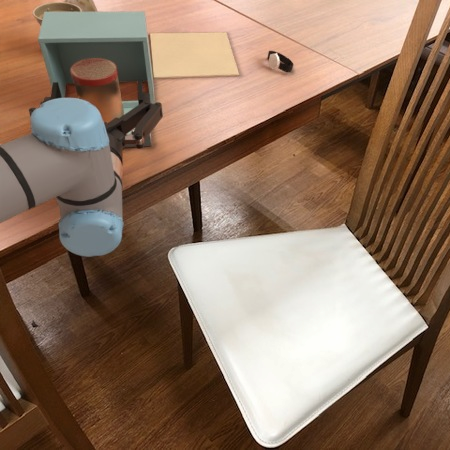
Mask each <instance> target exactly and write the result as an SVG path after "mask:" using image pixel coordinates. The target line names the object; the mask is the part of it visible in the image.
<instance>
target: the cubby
mask: <svg viewBox="0 0 450 450" xmlns="http://www.w3.org/2000/svg"><path fill="white" fill-rule="evenodd" d="M37 40H38V43H39V47H40V51H41V55H42V58H43V61H44V65H45V68H46V73H47V76H48V80H49V83H50V86H51V88H52V86H53V82H58V84H59V88H60V92H61V96H62V97H61V98H66V91H67V85H74V82H73V79H72V76H71V72H70V69H71V66H72V65H73V64H75V63H76V62H78V61H80V60H84V59H88V58H103V59H107V60H110V61H112V62H113V63H115V65H116V66H117V71H118V81H119V83H134V82H135V83H137V80H142V82H147V85H148V93H149V94H150V100H151V103H152V104H154V103H156V99H155V89H154V88H155V87H154V86H155V85H154V74H153V66H152V57H151V51H150V50H151V49H150V44H149V43H150V41H149V35H148V26H147V17H146V11H144V10H143V11H141V10H140V11H135V10H134V11H133V10H132V11H131V10H130V11H127V10H126V11H98V12H44V15H43V20H42V24H41V25H40V27H39V34H38V38H37Z"/></svg>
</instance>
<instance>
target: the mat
mask: <svg viewBox="0 0 450 450" xmlns="http://www.w3.org/2000/svg"><path fill="white" fill-rule="evenodd" d="M149 39H150V50H151V51H150V52H151V64H152V75H153V80H154V79H181V78H182V79H186V78H214V77H239V76H240V73H239V70H238V66H237V63H236V59H235V57H234V52H233V49H232V47H231V43H230V40H229V36H228V33H227V32H220V31H219V32H218V31H217V32H216V31H215V32H153V33H152V32H151V33H149Z"/></svg>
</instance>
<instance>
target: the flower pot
mask: <svg viewBox="0 0 450 450" xmlns="http://www.w3.org/2000/svg"><path fill="white" fill-rule="evenodd" d="M44 12H82V10H81V8H80V7H79V6H77V5H74V4H71V3H65V2H64V1H53V2H46V3H43V4H40V5H37V6H35V7H34V9H33V10H32V16H33V17H34V18H35V19H36V21H37V23H38V25H40V26H41V24H42V20H43V15H44Z"/></svg>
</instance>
